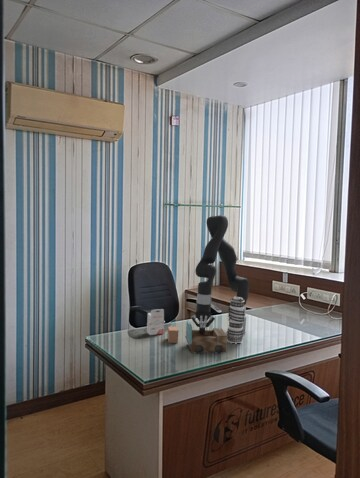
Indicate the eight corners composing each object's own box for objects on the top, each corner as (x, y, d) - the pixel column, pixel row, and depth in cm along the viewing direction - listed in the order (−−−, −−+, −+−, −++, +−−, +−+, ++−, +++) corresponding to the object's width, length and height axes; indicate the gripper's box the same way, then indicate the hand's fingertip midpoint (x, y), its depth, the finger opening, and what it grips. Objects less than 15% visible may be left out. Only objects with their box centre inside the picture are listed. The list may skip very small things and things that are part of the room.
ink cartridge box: (159, 331, 235) (161, 306, 234) (163, 333, 231) (164, 308, 230) (146, 332, 232) (147, 307, 230) (149, 335, 227) (151, 310, 226)
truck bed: (220, 343, 220) (221, 327, 219) (226, 353, 206) (227, 336, 205) (187, 343, 218) (188, 327, 217) (191, 353, 204) (192, 335, 203)
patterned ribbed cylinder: (223, 339, 228) (226, 296, 225) (237, 338, 231) (240, 295, 229) (231, 344, 219) (234, 300, 217) (245, 343, 223) (249, 299, 220)
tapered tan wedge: (176, 338, 224) (177, 326, 224) (177, 343, 217) (178, 330, 217) (167, 338, 224) (168, 326, 223) (168, 343, 217) (169, 330, 216)
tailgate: (187, 337, 217) (188, 319, 216) (191, 345, 204) (192, 327, 203) (185, 337, 216) (186, 319, 215) (188, 345, 204) (189, 327, 203)
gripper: (214, 300, 214) (212, 332, 215) (190, 300, 212) (188, 331, 214) (217, 304, 206) (215, 336, 208) (192, 303, 205) (190, 336, 206)
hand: (201, 334), depth 211 cm, fingers closed
